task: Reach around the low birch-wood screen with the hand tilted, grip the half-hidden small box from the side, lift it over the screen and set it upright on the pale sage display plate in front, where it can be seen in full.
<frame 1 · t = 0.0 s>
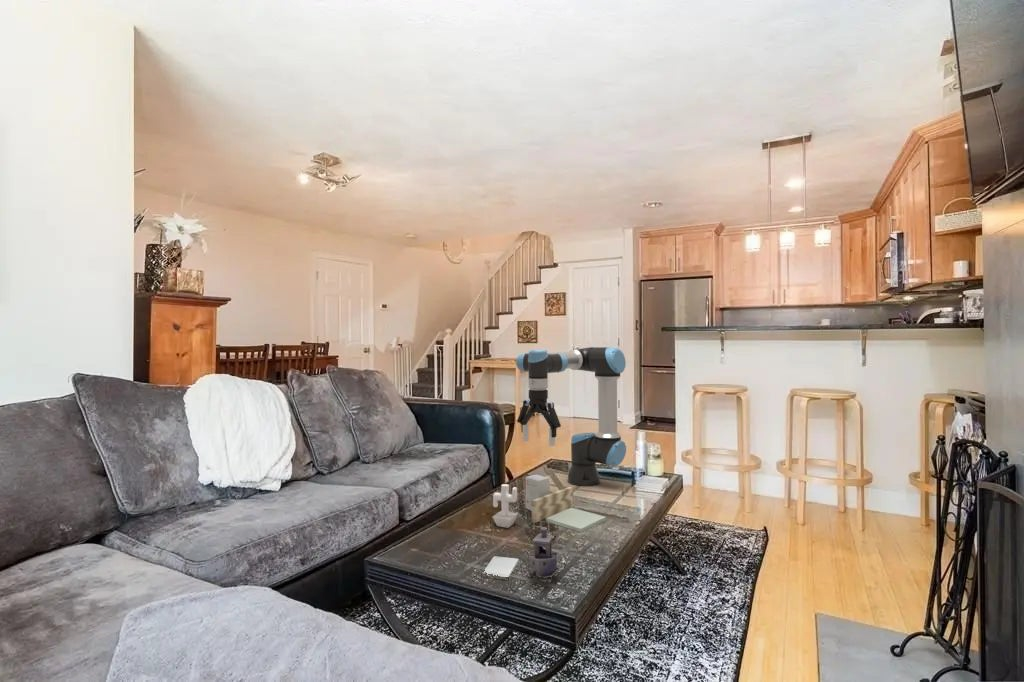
hand: (538, 443, 198), 28 cm above the table, tool pointing down, fingers open, 13 cm apart
toy boat: (544, 575, 148), on the table
hard drive: (500, 572, 152), on the table
display plate: (576, 520, 192), on the table
wooden screen: (553, 514, 199), on the table
figurine: (505, 525, 188), on the table
small box: (537, 510, 205), on the table
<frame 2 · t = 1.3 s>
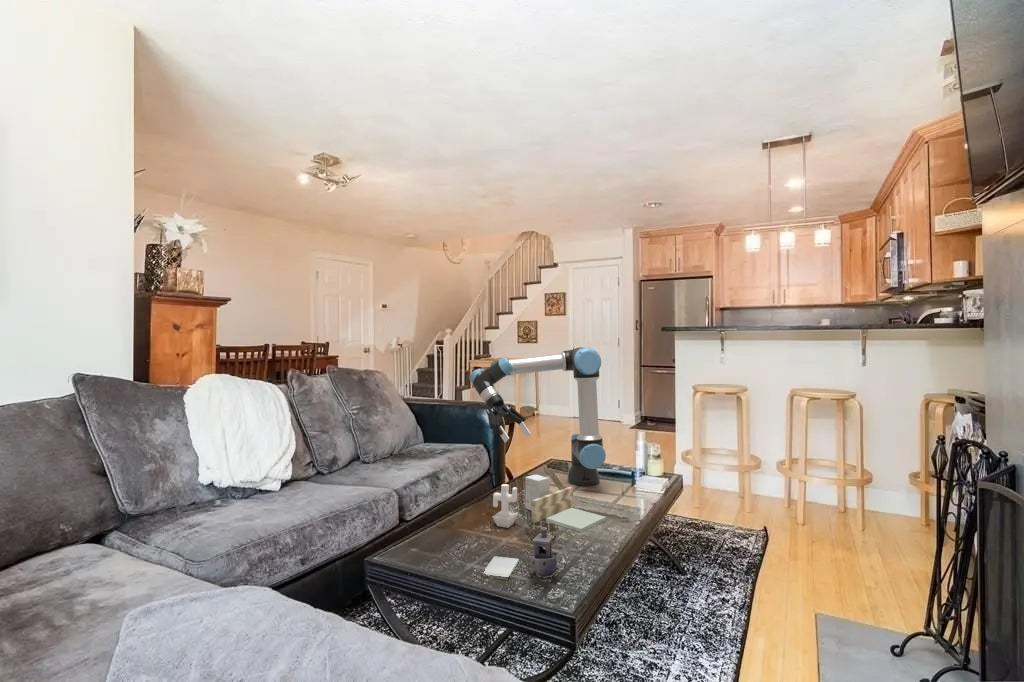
hand: (518, 438, 211), 28 cm above the table, tool tilted 45°, fingers open, 13 cm apart
nothing on the table moved.
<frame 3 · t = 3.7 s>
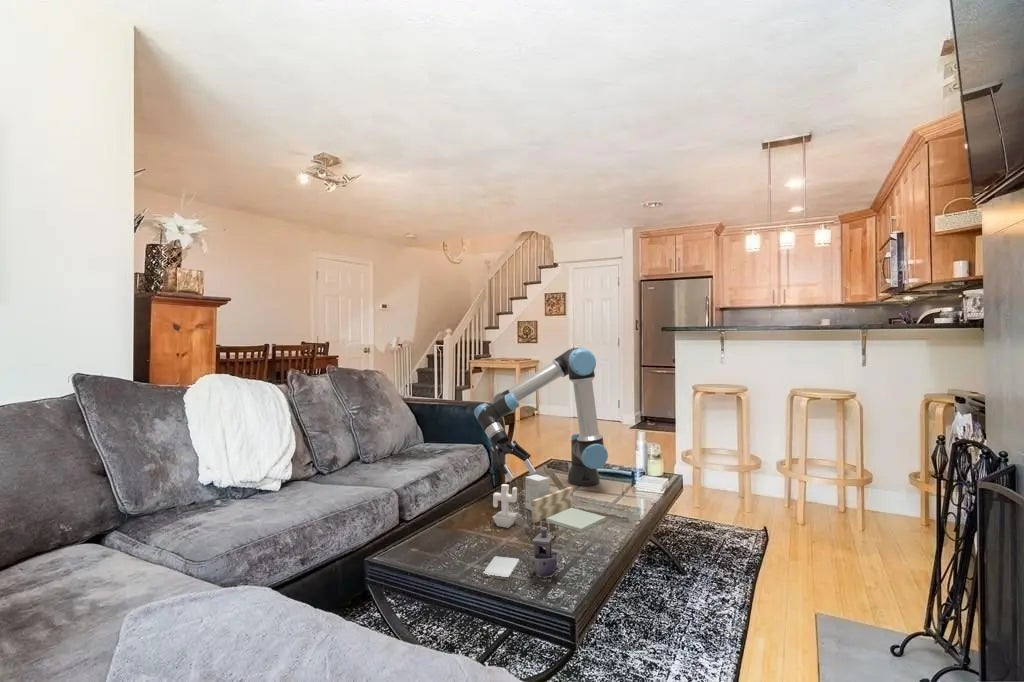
hand: (522, 476, 209), 12 cm above the table, tool tilted 45°, fingers open, 13 cm apart
nothing on the table moved.
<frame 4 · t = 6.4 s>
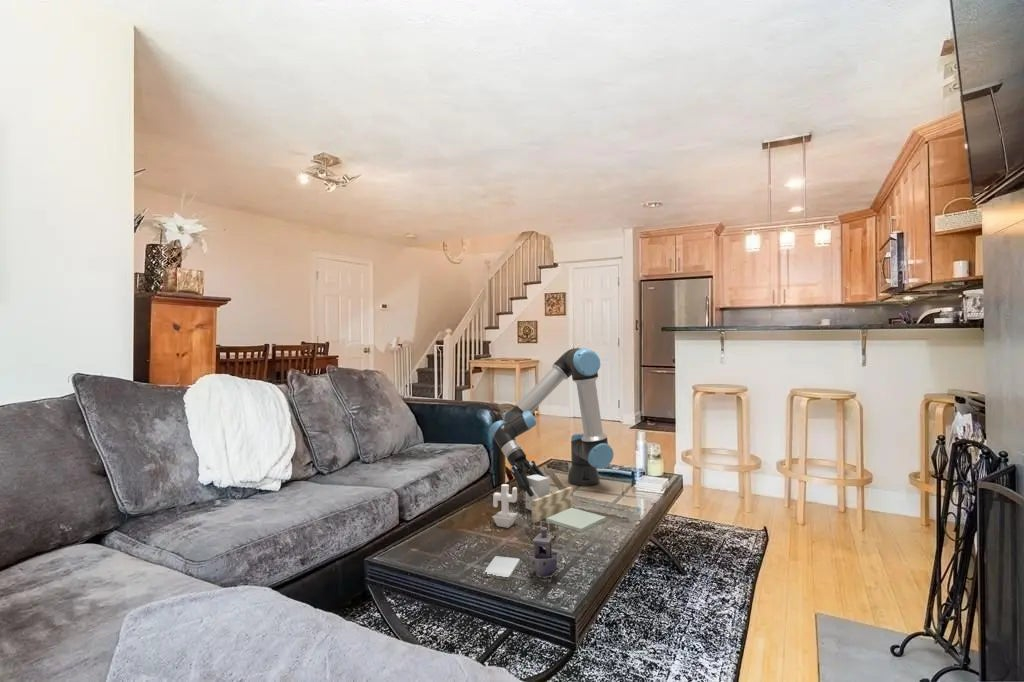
hand: (544, 500, 202), 5 cm above the table, tool tilted 45°, fingers closed on small box, 7 cm apart
small box: (537, 509, 205), on the table, touching gripper
everything else where it was.
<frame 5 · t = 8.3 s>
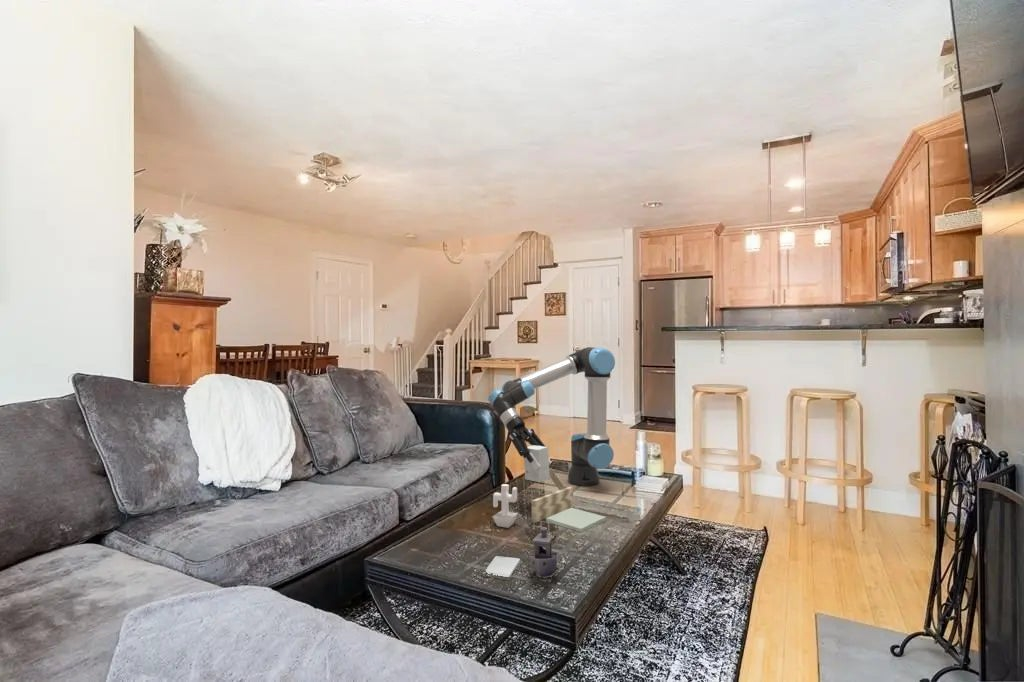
hand: (543, 466, 202), 18 cm above the table, tool tilted 45°, fingers closed on small box, 6 cm apart
small box: (537, 479, 204), point 12 cm above the table, touching gripper
everything else where it was.
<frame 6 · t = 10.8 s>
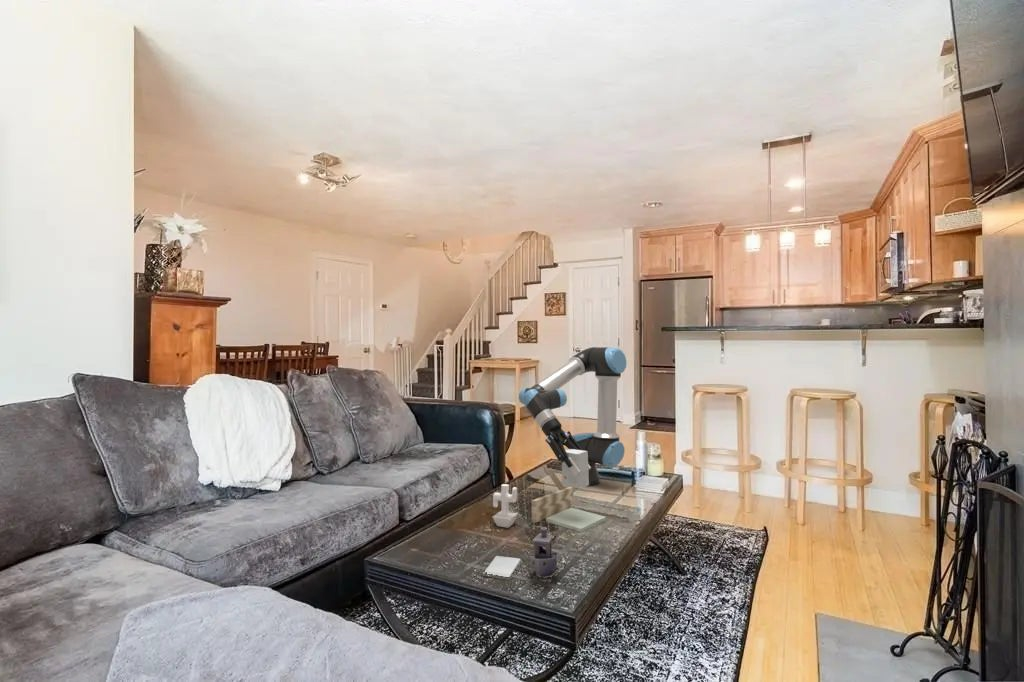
hand: (582, 471, 189), 19 cm above the table, tool tilted 45°, fingers closed on small box, 6 cm apart
small box: (575, 486, 191), point 13 cm above the table, touching gripper
everything else where it was.
when the fingers open (7 cm above the table, at t = 13.6 s): small box stays where it is, resting on display plate.
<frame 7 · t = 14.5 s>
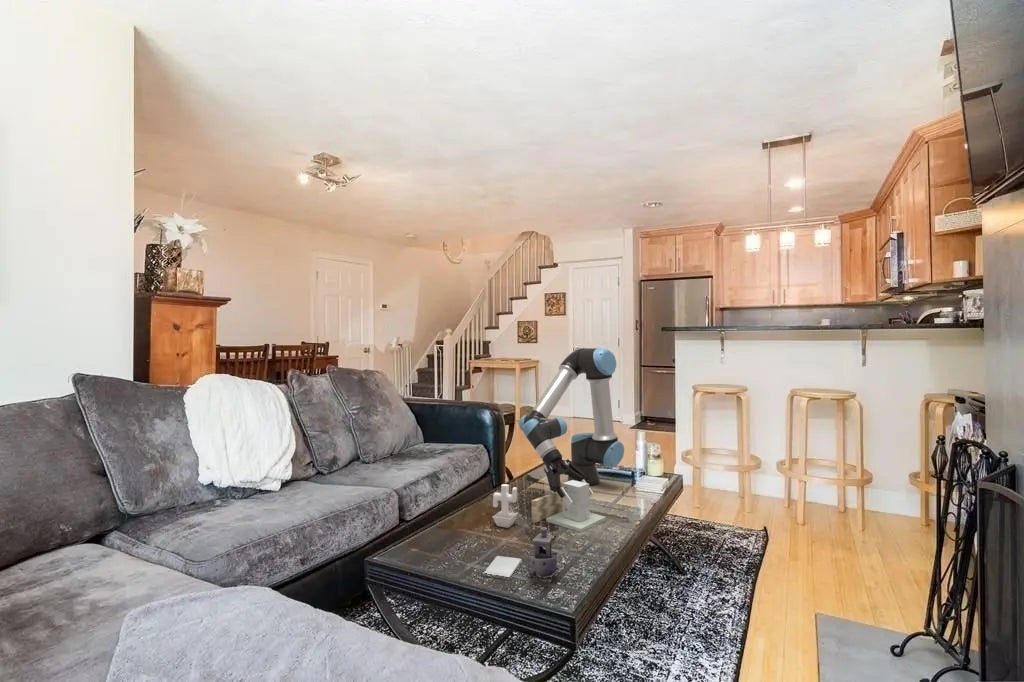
hand: (580, 499, 190), 8 cm above the table, tool tilted 45°, fingers open, 13 cm apart
small box: (576, 518, 192), point 1 cm above the table, touching display plate
everything else where it was.
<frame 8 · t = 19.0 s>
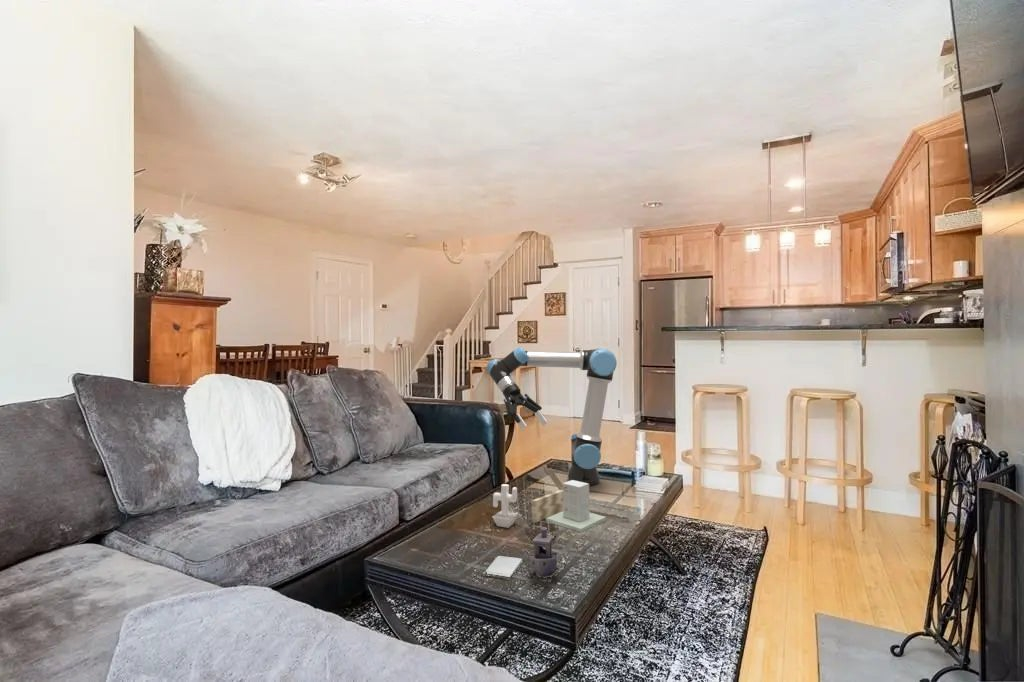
hand: (535, 425, 217), 32 cm above the table, tool tilted 45°, fingers open, 13 cm apart
nothing on the table moved.
at the end: small box inside the target area (0.1 cm from its centre), point 1.0 cm above the table; small box tilted 0°; the gripper is holding nothing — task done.
